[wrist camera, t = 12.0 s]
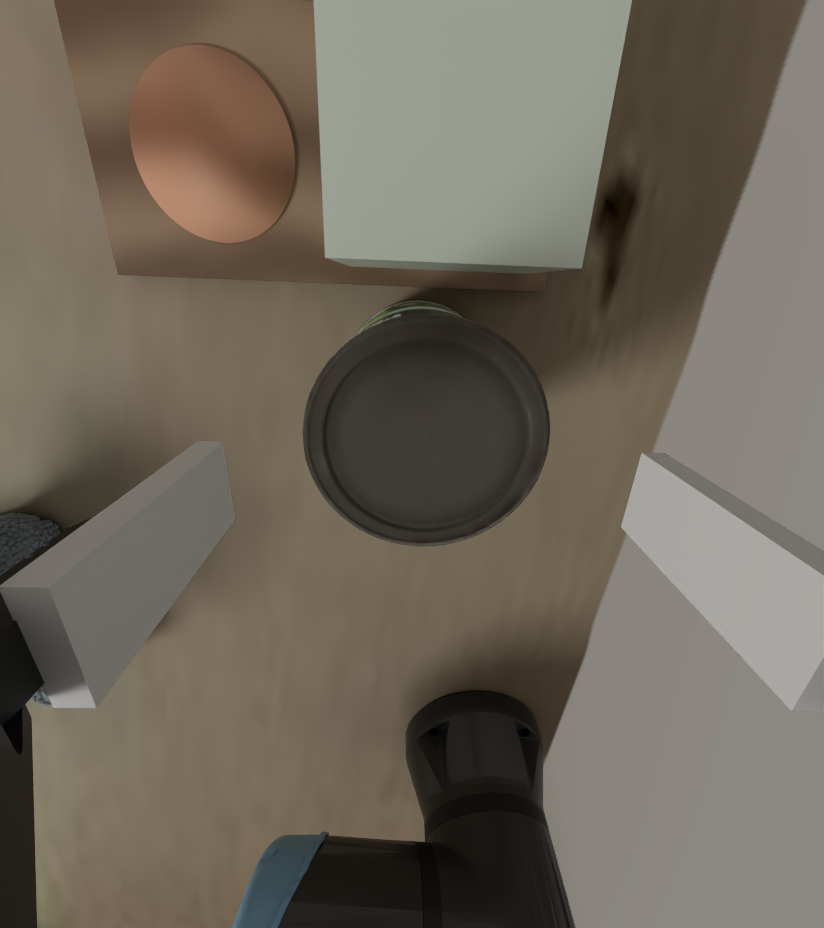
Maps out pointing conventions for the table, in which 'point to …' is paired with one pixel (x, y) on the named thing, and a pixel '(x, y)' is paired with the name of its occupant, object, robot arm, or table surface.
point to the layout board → (216, 142)
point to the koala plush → (24, 551)
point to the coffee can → (425, 427)
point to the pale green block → (464, 129)
